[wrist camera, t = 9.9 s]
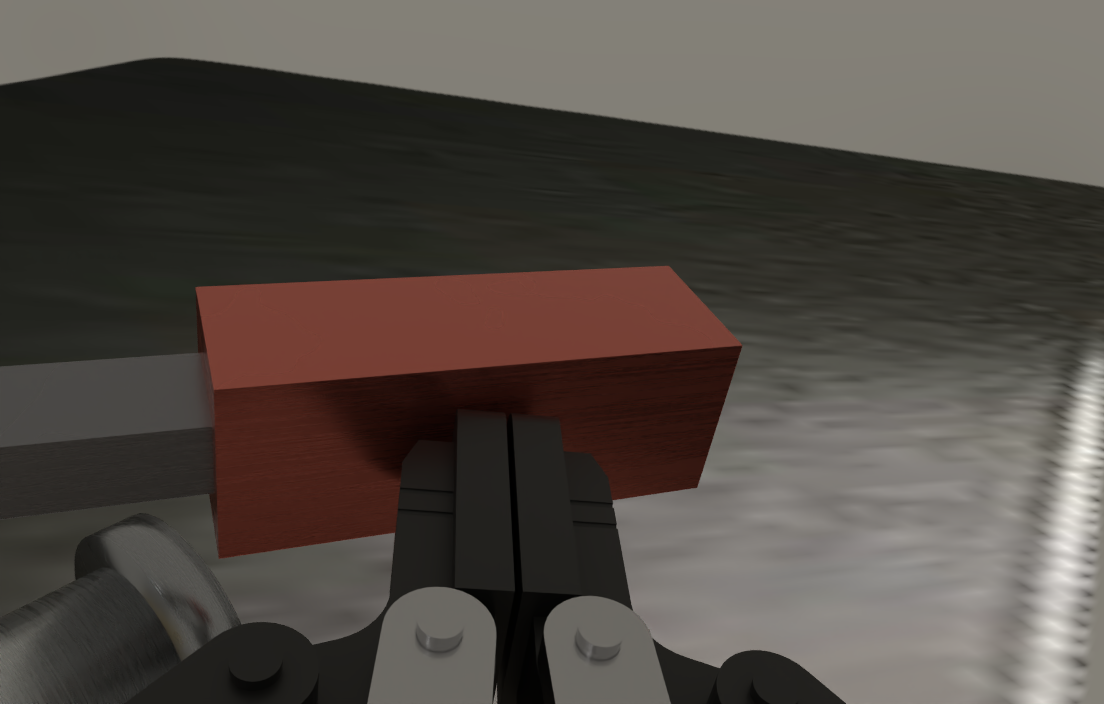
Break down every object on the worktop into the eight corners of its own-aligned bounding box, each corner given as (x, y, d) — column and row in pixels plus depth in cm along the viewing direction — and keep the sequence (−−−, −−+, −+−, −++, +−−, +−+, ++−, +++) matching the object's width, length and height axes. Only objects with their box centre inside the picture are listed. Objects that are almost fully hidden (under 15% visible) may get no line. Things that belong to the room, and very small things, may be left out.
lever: (-1118, 772, 9) (-1410, 541, 8) (-882, 548, 11) (-1070, 334, 10) (702, 495, 17) (749, 352, 15) (630, 394, 19) (663, 260, 18)
